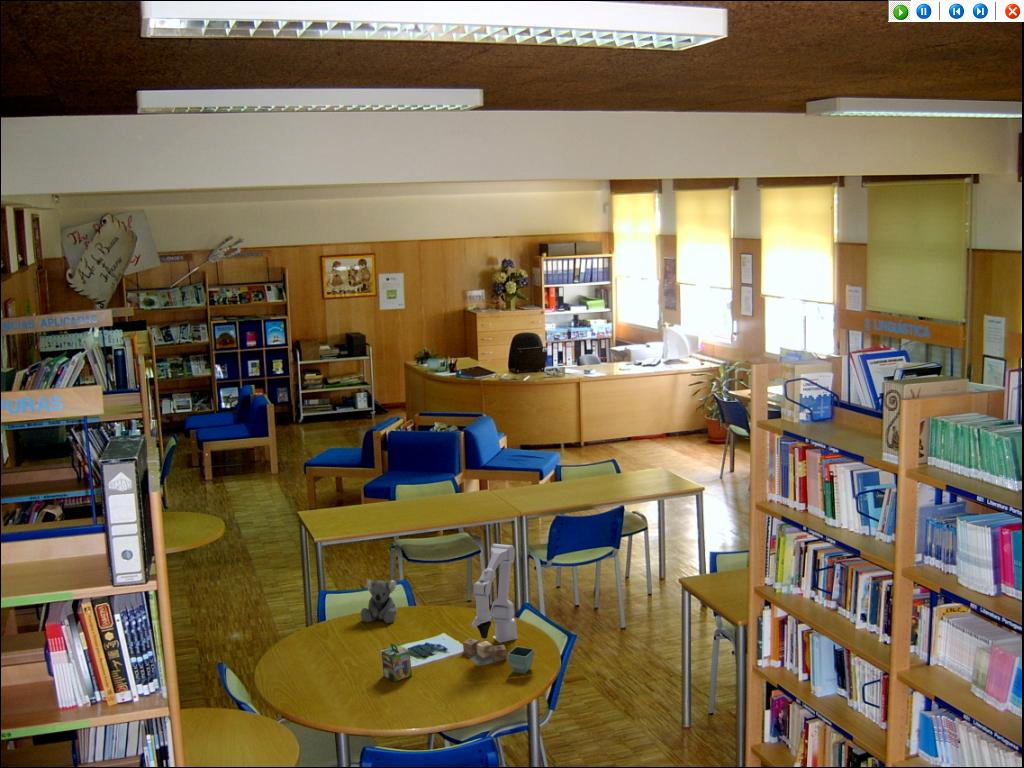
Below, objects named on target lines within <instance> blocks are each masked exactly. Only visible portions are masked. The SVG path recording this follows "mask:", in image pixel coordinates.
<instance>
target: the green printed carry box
mask: <svg viewBox="0 0 1024 768" xmlns="http://www.w3.org/2000/svg"><path fill="white" fill-rule="evenodd" d="M381 659H382V660H381V661H382V670H383V671H382V672H383V673H382V674H383V677H385V678H387V680H390V681H392V682H393V683H396V682H398V681H401V680H404V679H406V678H409V677H412V676H413V672H412V660H411V650H409V649H407V648H406V647H403V646H400V645H396V644H395V643H391V642H390V647H389V648H387V649H384V650H382V651H381Z"/></svg>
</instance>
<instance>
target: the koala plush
mask: <svg viewBox="0 0 1024 768" xmlns="http://www.w3.org/2000/svg"><path fill="white" fill-rule="evenodd" d="M366 587H367V591H369V593H370V598H369V601H368V605H367V607H362V608H361V610H360V620H361V621H362V622H364V623H372V622H373V621H375V620H377V619H379V620H383V622H384V623H386V624H392V623H393V622H394V621H395V620H396V617H397V608H396V604H395V602H394V599H393V598H392V597H391V596H390V594H392V593H394V592H395V590H396V588H397V582H396V581H395V580H393V579H392V580H388V581H384V580H380V579H379V580H376V581H375V580H372V579H369V578H368V579H367V580H366Z"/></svg>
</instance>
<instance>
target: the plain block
mask: <svg viewBox="0 0 1024 768" xmlns="http://www.w3.org/2000/svg"><path fill="white" fill-rule="evenodd" d="M492 645H493V644H492V643H490V642H489V641H487V640H485V641H482V642H479V643H478V644H477V655H479V656H481V657H483V658H485V657H488V656H492V655H493V646H492Z"/></svg>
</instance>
